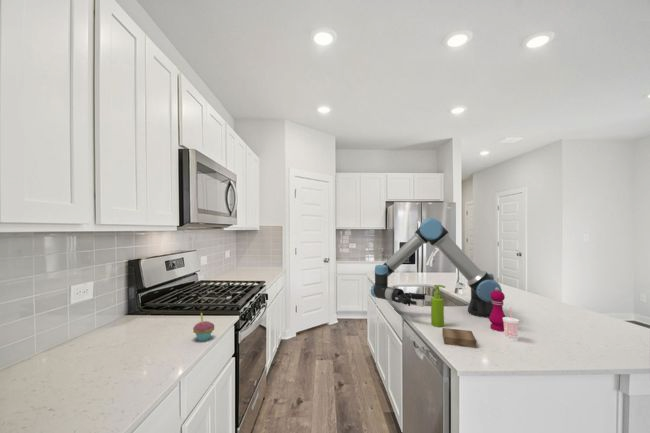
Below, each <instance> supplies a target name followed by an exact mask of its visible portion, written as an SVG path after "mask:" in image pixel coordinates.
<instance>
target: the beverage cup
mask: <svg viewBox="0 0 650 433" xmlns="http://www.w3.org/2000/svg"><path fill="white" fill-rule="evenodd" d="M503 322H504V331H503V332H504V334H503V335H504V340H505V341H508V342H510V341H511V342H510V343H517V342H518V338H519V337H518V336H519V322H520V319H518V318H515V317H512V307H510V306H509V316H505V317H503Z"/></svg>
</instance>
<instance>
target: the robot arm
mask: <svg viewBox="0 0 650 433" xmlns="http://www.w3.org/2000/svg"><path fill="white" fill-rule="evenodd" d="M428 243H429V244H430V246H432V247H436V248H438V250H439V251H440V252H441V253H442V254H443V255H444V256H445V257H446V258H447V259H448V261H449V262H450V263H451V264H452V265H453V266H454V267H455V268H456V269H457V270H458V272H459V273H461V275H462V276H464V278H465V280H467V285H468V286H469V288H470V301H469V304H468V307H467V312H469V313H468V314H470V313H471V314H470V315H472V314H474V315H473V316H476V315H478V316H477V317H481V316H485V317H484V318H489V317H490V314H491V312H492V309H493V304H492V298H491V297H490V294H491V292H492V291H496V290H495V288H497V287H498V288H499V291H501V292H502V293H503V290H502V287H501V285H500V284H499V283H498V281H496V280H495V278H494V274H493V273H488V272H487V271H486V270H481V268H479V267H478V266H477V265H476V264H475V262H473V261H472V260H471V258H470V257H469V256H468V255H467V254H466V253H465V252H464V251H463V249H461V248H460V246H459V245H458V244H457V243H456V242H455V241H454V240H453V239H452V238H451V237H450V232H449V231H448V230H447V228H445V226H444V225H443V224H442V223H441V221H440V220H438V219H436V218H433V217H430V218H429V217H428V218H425V219H424V220H423V221H422V222H421V223H420V226H419V227H418V229H417V230H415V232H414V234H413V236H411V238H409V240H407V241H406V242H405V243H404V244H403V245H402V246H401V247H400V248H399V249H397V250H396V252H395V253H394V254H392V255H391V256H390V258H388V259H387V260H386V261H385V262H384V263H383V264H377V265H375V267H374V284H372V285H371V288H370V294H371V296H372V297H374V298H377V299H381V300H386V301H389V302H391V303H392V302H395V303H399V304H400V303H401V304H403V305H407V306H408V307H410V306H411V305H412V306H417V307H421V308H424V301H426V302H430V303H431V298H434V295H433V296H432V295H427V293H416V292H404V290H403V289H402V288H396V287H393V286H388V284H389V283H388V282H389V279H388V278H389V276H390V275H392V274H393V273H394V272H395V271H396V270H397V269H398V268H399V267H401V266H402V264H403V263H405V262H406V261H407V260H408V259H409V258H410V257H411V256H412V255H413V254H414V253H415V252H416V251H417V250H418V249H420V247H422V246H423V245H424V244H428ZM423 300H424V301H423Z"/></svg>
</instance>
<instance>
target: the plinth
mask: <svg viewBox="0 0 650 433" xmlns="http://www.w3.org/2000/svg"><path fill="white" fill-rule="evenodd" d="M441 329H442V330H441V332H442V340H443V344H444V345H447V346H458V347H464V348H471V349H473V348H474V349H477V340H476V337H475V335H474V333H473V331H472V330H467V329H456V328H448V327H447V328H446V327H441Z"/></svg>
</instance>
